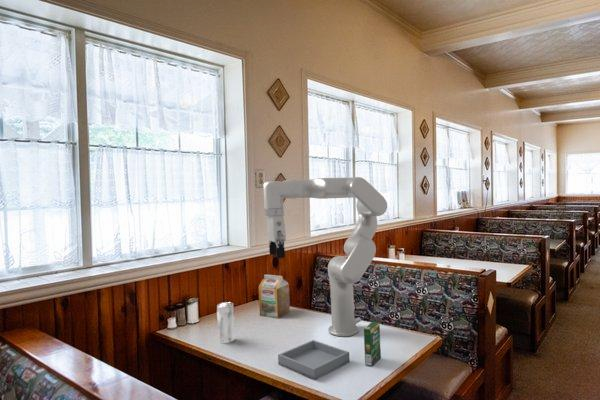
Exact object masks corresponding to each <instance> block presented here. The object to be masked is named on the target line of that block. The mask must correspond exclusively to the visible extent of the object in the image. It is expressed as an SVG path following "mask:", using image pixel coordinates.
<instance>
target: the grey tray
mask: <svg viewBox="0 0 600 400" xmlns="http://www.w3.org/2000/svg"><path fill="white" fill-rule="evenodd" d="M350 362H351V361H350V351H347V350H344V349H342V348H339V347H335V346H332V345H329V344H326V343H324V342H320V341H318V340H315V339H312V340H309V341H307V342H304V343H302V344H300V345H297V346H295V347H293V348H291V349H289V350H286V351H283V352H281V353H279V354H277V363H278V365H279V366H281V367H283V368H286V369H288V370H290V371H293V372H294V373H298V374H299V375H301V376H304V377H305V378H308V379H311V380H313V381H317V380H318V379H319V378H321V377H323V376H325V375H327V374H329V373H331V372H333V371H336V370H337V369H339V368H341V367H343V366H345V365H347V364H349V363H350Z"/></svg>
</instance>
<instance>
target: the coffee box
mask: <svg viewBox="0 0 600 400" xmlns="http://www.w3.org/2000/svg"><path fill="white" fill-rule="evenodd" d="M380 333H381V330H380V322H379V321H374V320H373V321H371V322H370V323H369V324H368V325H366V326H365V327H364V328H363V342H364V345H363V346H364V363H365V364H364V365H365V366H367V367H373V366H375V365H376V364H377V362H379V361H380V360H381V358H382V356H381V355H382V351H381V334H380Z"/></svg>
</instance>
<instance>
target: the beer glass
mask: <svg viewBox="0 0 600 400" xmlns="http://www.w3.org/2000/svg"><path fill="white" fill-rule="evenodd" d="M234 308H235V307H234V303H233V302H230V301H229V302H227V301H224V302H219V303H218V304H217V305H216V319H217V324H218V327H219V333H220V334H219V343H221V344H230V343H233V342H234V341H235V339H236V338H235V335H234V325H235V324H234V323H235V309H234Z"/></svg>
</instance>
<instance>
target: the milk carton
mask: <svg viewBox="0 0 600 400" xmlns="http://www.w3.org/2000/svg"><path fill="white" fill-rule="evenodd" d="M263 277H264V278H262V279H261V282H260V283H259V285H258V302H259V303H258V304H259V305H258V306H259V307H258V308H259V317H265V318H272V319H280V318H282V317H284V316H285V315H288V314H290V312H291V308H290V307H291V305H290V303H291V302H290V284H289V283H288V281H287V280H286V279H283V276H282V275H275V274H264V276H263Z"/></svg>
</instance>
